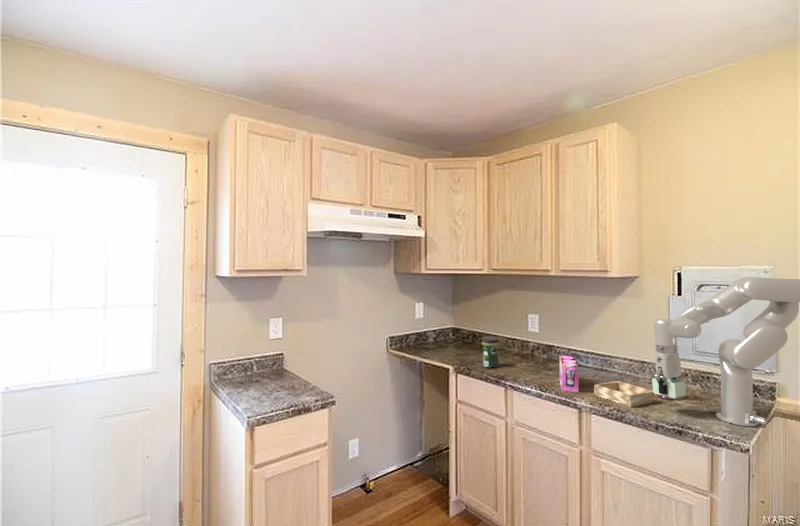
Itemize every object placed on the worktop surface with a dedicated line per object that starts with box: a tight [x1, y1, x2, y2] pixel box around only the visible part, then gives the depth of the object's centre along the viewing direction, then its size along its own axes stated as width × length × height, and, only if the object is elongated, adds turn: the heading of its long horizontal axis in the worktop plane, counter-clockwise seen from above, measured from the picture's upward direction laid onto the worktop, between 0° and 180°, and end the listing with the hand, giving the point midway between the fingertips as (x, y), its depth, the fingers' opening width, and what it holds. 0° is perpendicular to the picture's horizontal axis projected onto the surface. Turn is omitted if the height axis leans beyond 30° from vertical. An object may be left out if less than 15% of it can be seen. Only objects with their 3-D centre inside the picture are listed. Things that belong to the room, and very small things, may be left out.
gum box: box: [558, 354, 580, 393], centre depth 200 cm, size 24×8×14 cm, turn 160°
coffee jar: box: [481, 335, 499, 368], centre depth 239 cm, size 10×8×19 cm
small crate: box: [651, 377, 687, 400], centre depth 162 cm, size 9×7×6 cm
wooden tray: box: [593, 380, 655, 408], centre depth 179 cm, size 18×16×5 cm
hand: (669, 392), depth 162 cm, fingers closed on small crate, 7 cm apart
